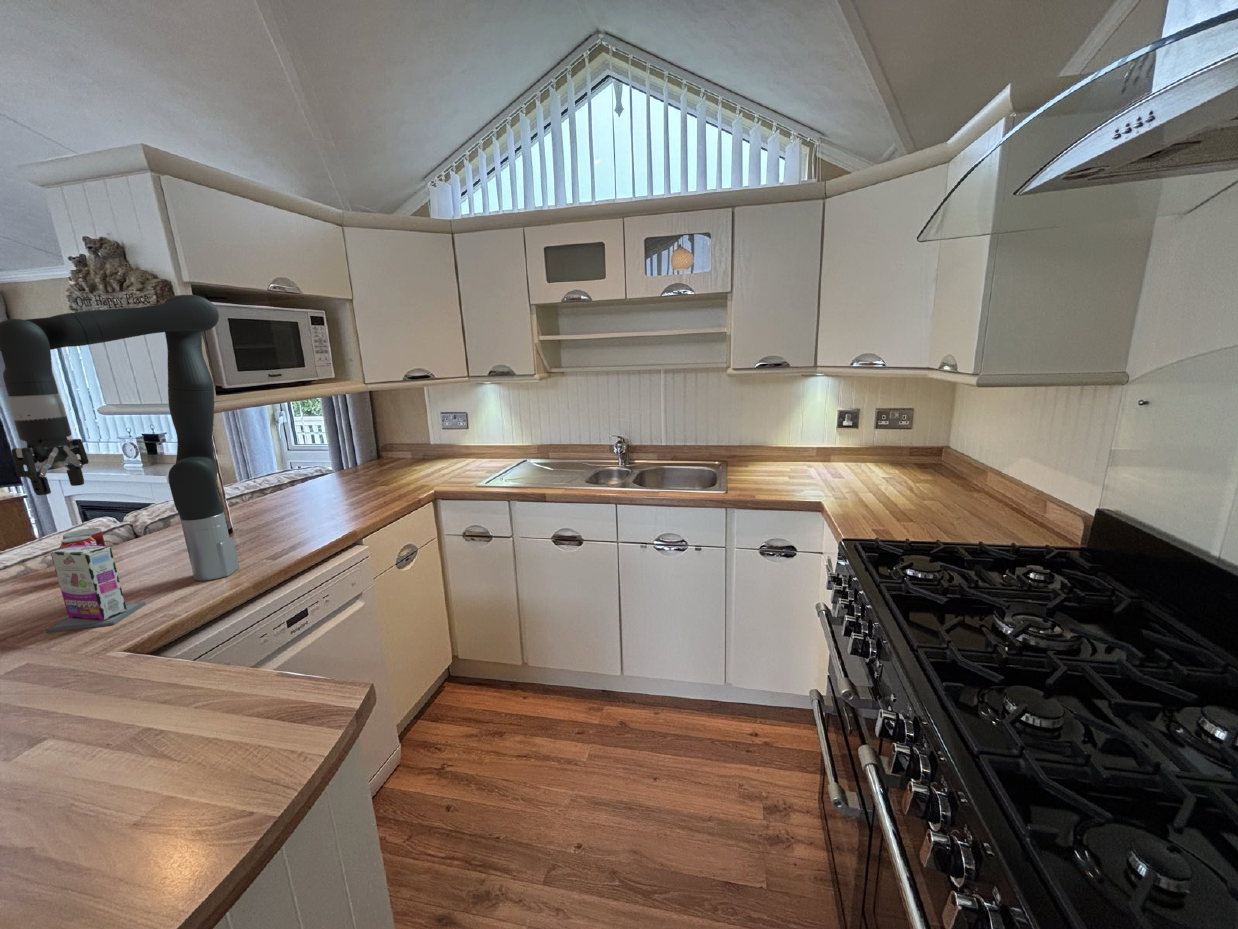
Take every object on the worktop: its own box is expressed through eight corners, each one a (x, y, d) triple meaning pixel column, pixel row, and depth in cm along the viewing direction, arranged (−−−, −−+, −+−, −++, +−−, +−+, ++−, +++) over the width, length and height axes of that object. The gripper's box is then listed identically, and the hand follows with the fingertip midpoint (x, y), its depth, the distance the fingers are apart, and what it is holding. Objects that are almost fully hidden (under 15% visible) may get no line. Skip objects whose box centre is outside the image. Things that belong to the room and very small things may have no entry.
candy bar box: (129, 610, 117) (112, 545, 114) (104, 621, 113) (85, 553, 109) (93, 607, 120) (75, 543, 116) (67, 618, 115) (47, 551, 111)
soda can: (103, 571, 144) (93, 532, 142) (106, 576, 140) (95, 536, 137) (68, 579, 139) (56, 539, 137) (70, 586, 135) (58, 544, 132)
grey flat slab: (145, 604, 122) (145, 601, 122) (114, 624, 112) (113, 621, 112) (83, 611, 119) (82, 608, 119) (45, 633, 110) (44, 630, 110)
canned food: (82, 564, 150) (72, 530, 148) (116, 560, 153) (107, 526, 151) (65, 574, 143) (54, 538, 141) (101, 569, 146) (91, 533, 143)
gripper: (30, 419, 100) (53, 496, 103) (88, 412, 114) (107, 480, 117) (-15, 421, 98) (9, 500, 102) (49, 414, 112) (69, 483, 115)
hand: (61, 489), depth 109 cm, fingers open, 8 cm apart
